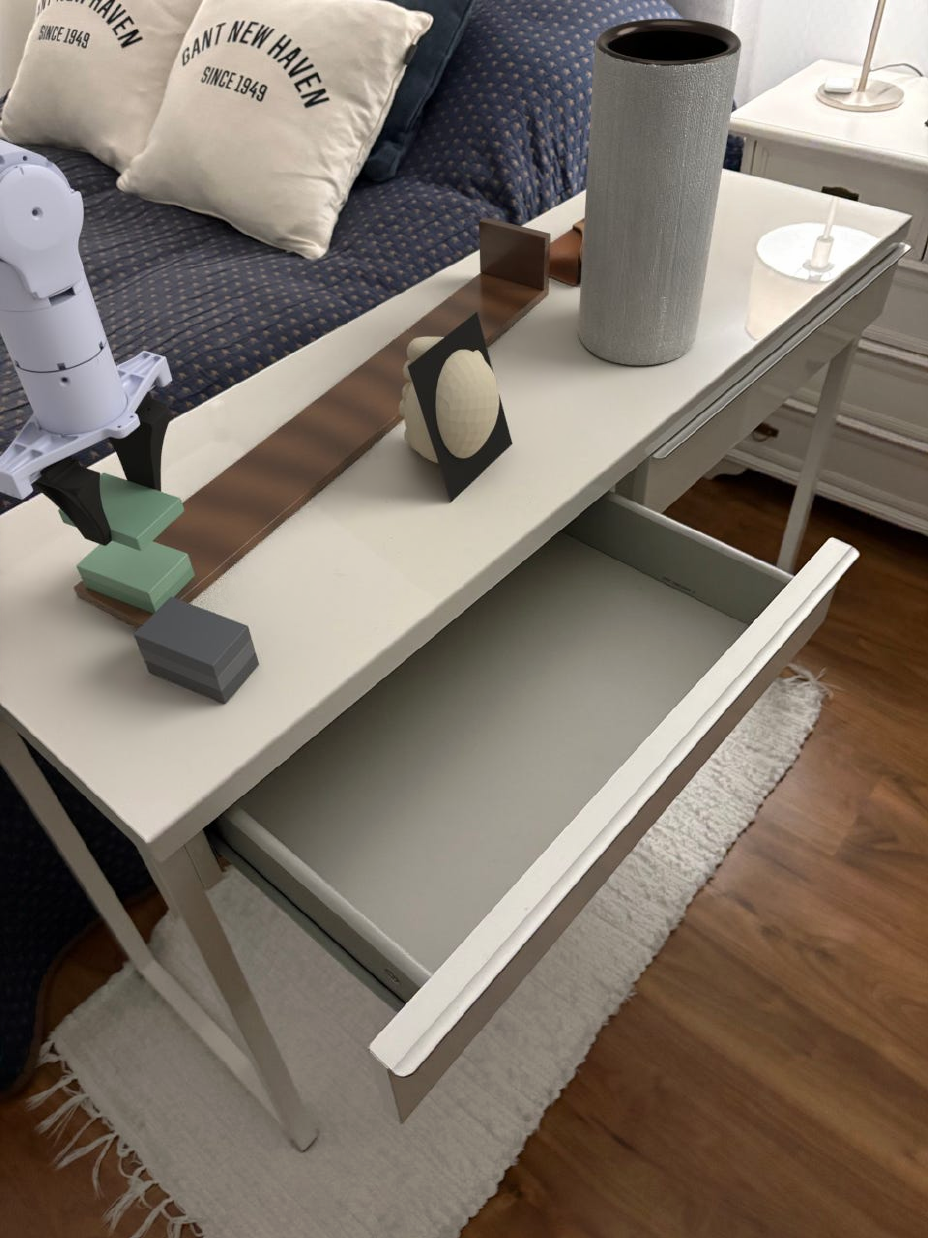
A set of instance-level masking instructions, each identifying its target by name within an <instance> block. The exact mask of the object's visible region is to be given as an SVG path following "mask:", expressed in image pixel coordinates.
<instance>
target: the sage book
mask: <svg viewBox="0 0 928 1238" xmlns="http://www.w3.org/2000/svg"><path fill="white" fill-rule="evenodd" d="M100 495H101V501H102V506H103V509H104V512H105V515H106V518H107V520H108V523H109V526H110V528H111V529H110V531H111V537H112V541H114V542H117V543H120V544H122V545H125V546H128V547H131V548H133V549H136V550H139V551H142V550H143V549H144V548H145V547H146V546H147V545H148V544H150V543H151V542H152V541H153V540H154V539H155V538H156V537H157V536H158V535H159V534H160V533H161V532H162V531H163V530H165V529H166V528H167V527H168V526H169V525H170V524H171V523H172V522H173V521H174V520H175V519H176V518H177V517H178V516H179V515H181V514H182V513H183V512H184V507H183V504H182V503H183V501H182V499H181V497H178V496H175V495H173V494H169V493H166V492H163V491H161V492H160V491H158V490H154V489H151V488H148V487H145V486H142V485H139V484H136V483H134V482H131V481H128V480H127V479H126V478H122V477H119V476H116V475H114V474H110V473H107V472H102V473H100ZM57 512H58V514H59V517H60V518H61V521H62V522H63V524H66V525H69V526H71V527H74V528H77V527H76V526H75V525H74V523H73V522H72V521H71V520H70V519H69V518H68V517H67V515H66V514H65V513H64V512H63V511H62V510H61V509H60V508H58V510H57ZM77 529H78V528H77Z"/></svg>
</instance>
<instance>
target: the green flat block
mask: <svg viewBox="0 0 928 1238" xmlns="http://www.w3.org/2000/svg"><path fill="white" fill-rule="evenodd" d="M75 566H76V569H77V571H78V573H79V576H80V578H81V581H82V580H83V583H84V585H85V587H86V588H89V589H91V590H94V591H97V592H99V593H102V594H104V595H107V596H109V597H112V598H115V599H117V600H120V601H122V602H125V603H127V604H130V605H133V606H135V607H138V608H140V609H143V610H146V611H148V612H151V613H153V614H154V613H155V612H156V611H157V610H158V609H159V608H160V607H161V606H162V605H163V604H164V603H165V602H166V601H167V600H168V599H169V598H170V597H173V598H174V597H175V596H176V595H177V594H178V593H179V591H180V590H181V589H182V588H183V587H184V586H185V585H186V584H187V583H188V582H189V581H190V580H191V579H192V578H193V577H194V576H195V574H194V571H193V568H192V565H191V562H190V559H189V556H188V554H187V553H184V552H181V551H178V550H175V549H173V548H170V547H167V546H164V545H161V544H158V543H156V542H153V541H152V542H151V543H150V544H148V545H147V546H146V547H145V548H144V549H143V550H142V551H139V550H136V549H133V548H131V547H128V546H125V545H122V544H120V543H117V542H114V541H111V542H110V543H109V544H108V545H107V546H103V545H101V544H98V545H97V546H96V547H95V548H94V549H93V550H91V551H90V552H89V553H88V554H87V555H86V556H84V558H82V559H81V560H80V561H79V562H78V563H77V564H76V565H75Z"/></svg>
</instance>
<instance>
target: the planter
mask: <svg viewBox="0 0 928 1238" xmlns="http://www.w3.org/2000/svg"><path fill="white" fill-rule="evenodd" d="M593 48H594V49H593V50H594V51H593V66H592V67H593V68H592V82H591V83H592V84H591V99H590V117H589V118H590V119H589V133H588V134H589V135H588V151H587V152H588V153H587V168H586V169H587V170H586V186H585V200H584V201H585V202H584V217H583V218H584V235H583V252H582V269H581V284H580V286H579V287H580V288H579V304H578V337H579V340H580V342H581V344H582V345H583V347H585V348H586V350H588V351H589V352H590V353H592V354H593V355H595V356H597V357H599V358H601V359H603V360H606V361H608V362H612V363H617V364H621V365H626V366H627V365H628V366H653V365H658V364H664V363H668V362H671V361H674V360H676V359H678V358H680V357H682V356H683V355H685V354H686V353H687V352H688V351H689V350H690V349H691V348H692V347H693V346H694V343H695V340H696V335H697V331H698V327H699V321H700V313H701V308H702V302H703V295H704V289H705V282H706V276H707V275H706V274H707V268H708V263H709V257H710V256H709V255H710V250H711V243H712V237H713V230H714V226H715V225H714V224H715V219H716V218H715V217H716V212H717V206H718V198H719V192H720V186H721V180H722V172H723V168H724V161H725V155H726V149H727V141H728V136H729V129H730V124H731V123H730V122H731V117H732V112H733V111H732V109H733V103H734V98H735V97H734V96H735V93H736V92H735V91H736V86H737V85H736V84H737V78H738V71H739V66H740V65H739V64H740V59H741V52H742V42H741V39H740V37H739V36H738V35H737V34H736V33H735V32H733V31H732V30H730V29H728V28H726V27H723V26H721V25H719V24H715V23H711V22H707V21H702V20H694V19H686V18H648V19H638V20H633V21H628V22H623V23H620V24H619V23H618V24H617V25H614V26H612V27H609V28H607V29H605V30H603V31H602V32H601V33H600V34H599V35H598V36H597V38H596V39H595V41H594V47H593Z"/></svg>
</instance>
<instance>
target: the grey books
mask: <svg viewBox="0 0 928 1238" xmlns="http://www.w3.org/2000/svg"><path fill="white" fill-rule="evenodd" d="M133 636H134V640H135V643H136V645H137V646H138V649H139V652H140V653H141V656H142V659H143V661H144V664H145V666H146V668H147V671H148V673H150V674H152V675H155V676H156V677H159V678H162V679H163V680H166V681H168V682H171V683H173V684H175V685H178V686H181V687H183V688H185V689H187V690H190V691H193V692H195V693H197V694H200V695H202V696H204V697H207V698H210V699H211V700H215V701H217V702H219V703H222V704H224V705H226V704H227V703H228V702H229V701H230V699H231V698H232V697H233V696H234V695H235V694H236V693H237V691H238V690H239V689H240V688H241V687H242V686H243V684H244V683H245V682H246V681H247V679H248V678H249V677H250V676H251V675H252V674H253V672H254V671H255V670H256V669H257V667H259V665H260V661H259V659H258V655H257V652H256V648H255V645H254V641H253V639H252V635H251V631H250V628H249V625H247V624H245V623H242V622H239V621H237V620H234V619H231V618H229V617H226V616H223V615H220V614H218V613H216V612H213V611H210V610H208V609H204V608H202V607H199V606H196V605H194V604H191V603H186V602H184V601H181V600H178V599H176V598H173V597H170V598H169V599H168V600H167V601H166V602H165V603H164V604H163V605H162V606H161V607H160V608H159V609H158V610H157V611H156V612H155V613H154V614H153V615H152V616H151V617H150V618H149V619H148V620H147V621H146V622H145V623H144V624H143V625H142V626H141V627H140V628H139V629H137V630H136V631H135V632H134V633H133Z"/></svg>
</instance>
